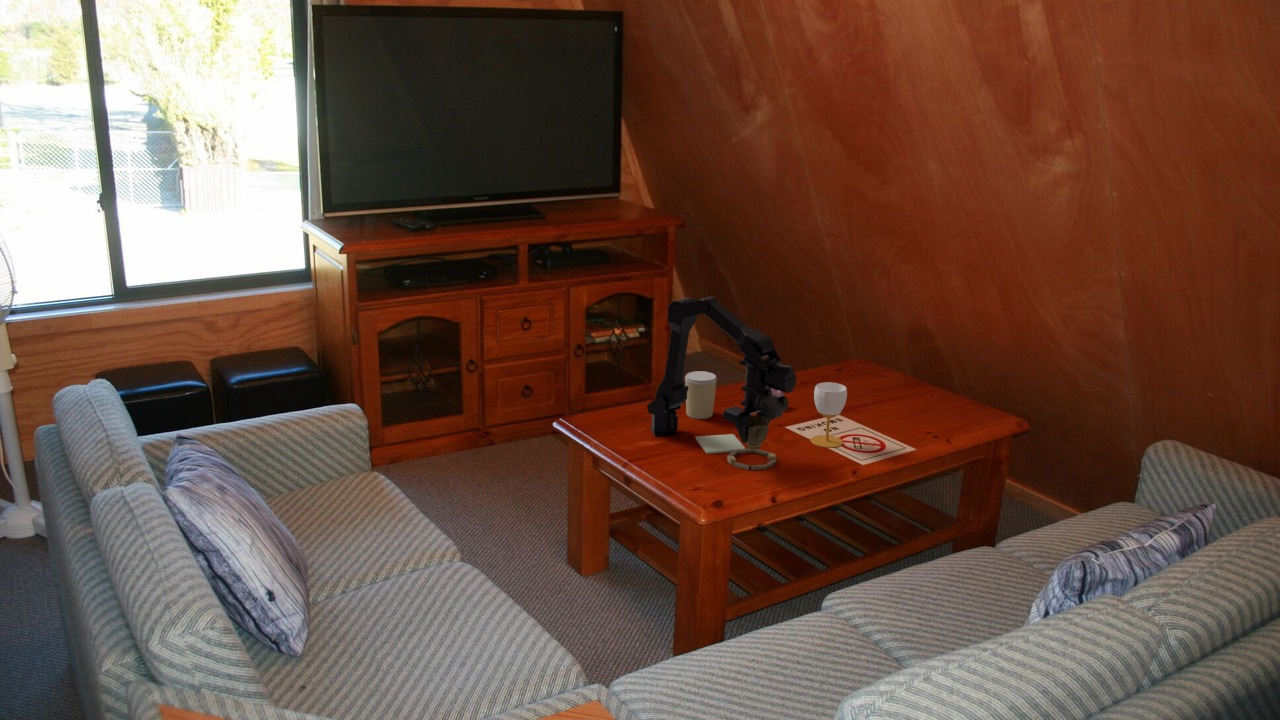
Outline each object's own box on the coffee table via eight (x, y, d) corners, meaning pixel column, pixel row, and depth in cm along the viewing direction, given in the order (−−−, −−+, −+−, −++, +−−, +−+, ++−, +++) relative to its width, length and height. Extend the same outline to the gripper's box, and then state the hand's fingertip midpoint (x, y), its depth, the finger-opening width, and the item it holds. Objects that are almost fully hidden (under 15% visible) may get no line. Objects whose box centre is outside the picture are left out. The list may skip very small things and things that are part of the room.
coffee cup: (708, 407, 315) (709, 369, 311) (720, 418, 306) (721, 379, 303) (679, 410, 312) (680, 372, 308) (690, 421, 303) (691, 382, 300)
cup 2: (835, 434, 296) (840, 381, 291) (848, 446, 287) (853, 391, 282) (805, 436, 294) (809, 382, 289) (817, 448, 285) (821, 393, 280)
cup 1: (735, 449, 274) (736, 421, 271) (745, 440, 280) (746, 412, 277) (762, 455, 271) (763, 426, 268) (771, 445, 277) (773, 417, 274)
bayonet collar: (735, 471, 269) (736, 467, 269) (721, 453, 281) (721, 448, 281) (782, 467, 272) (783, 463, 272) (766, 449, 284) (766, 445, 283)
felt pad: (706, 453, 280) (706, 451, 280) (695, 438, 291) (695, 436, 290) (745, 450, 283) (745, 448, 283) (733, 436, 293) (733, 434, 293)
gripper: (756, 399, 258) (752, 458, 263) (803, 384, 271) (799, 440, 275) (723, 388, 266) (720, 445, 271) (770, 373, 278) (767, 428, 283)
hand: (753, 439), depth 275 cm, fingers closed on cup 1, 6 cm apart
